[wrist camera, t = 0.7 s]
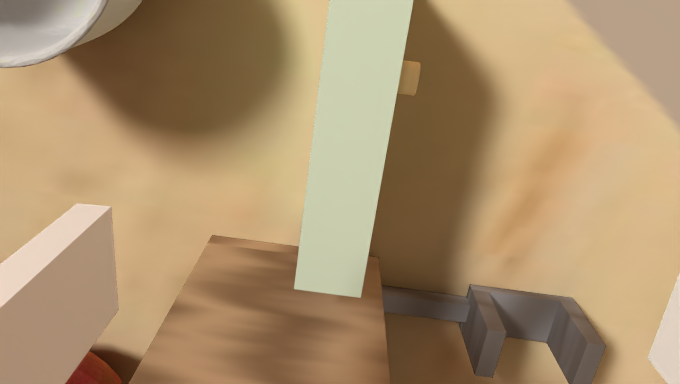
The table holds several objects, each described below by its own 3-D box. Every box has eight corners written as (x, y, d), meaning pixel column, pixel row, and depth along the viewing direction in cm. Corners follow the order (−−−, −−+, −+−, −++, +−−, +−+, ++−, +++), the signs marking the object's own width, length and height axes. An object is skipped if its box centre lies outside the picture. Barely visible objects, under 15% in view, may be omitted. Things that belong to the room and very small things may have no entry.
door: (308, 216, 31) (293, 289, 23) (341, -43, 26) (336, -55, 18) (375, 225, 31) (382, 300, 24) (421, -31, 26) (449, -38, 18)
